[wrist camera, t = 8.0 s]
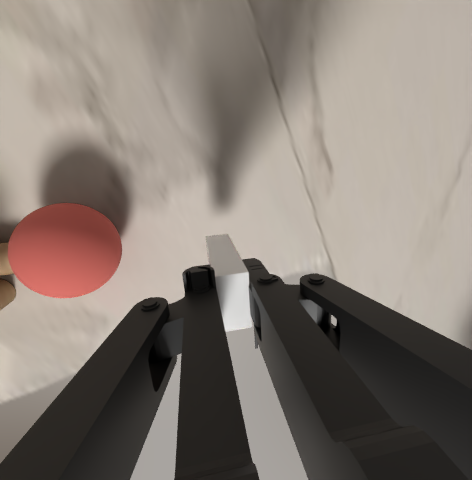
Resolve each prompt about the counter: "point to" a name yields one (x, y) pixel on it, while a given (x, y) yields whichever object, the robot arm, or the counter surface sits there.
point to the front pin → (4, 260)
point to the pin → (6, 293)
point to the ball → (64, 250)
